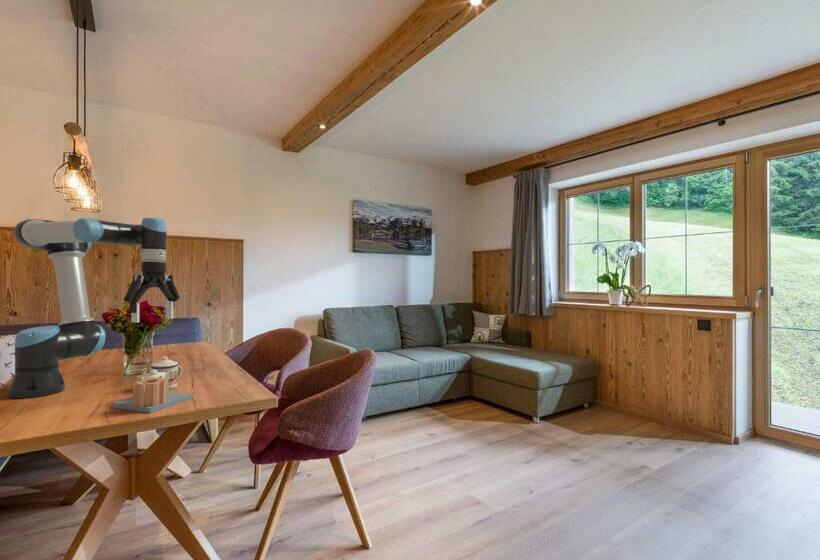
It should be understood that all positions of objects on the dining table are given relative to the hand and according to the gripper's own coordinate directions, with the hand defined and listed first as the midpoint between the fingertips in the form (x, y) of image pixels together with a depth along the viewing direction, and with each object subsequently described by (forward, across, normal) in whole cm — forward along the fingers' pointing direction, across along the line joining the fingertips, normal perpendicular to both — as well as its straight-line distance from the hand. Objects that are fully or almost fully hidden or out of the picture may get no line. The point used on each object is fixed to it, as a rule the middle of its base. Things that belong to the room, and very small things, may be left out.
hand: (153, 320), depth 145 cm
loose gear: (+25, -11, -12) cm, 30 cm away
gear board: (+27, -7, -9) cm, 29 cm away
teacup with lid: (+27, +10, +4) cm, 29 cm away
